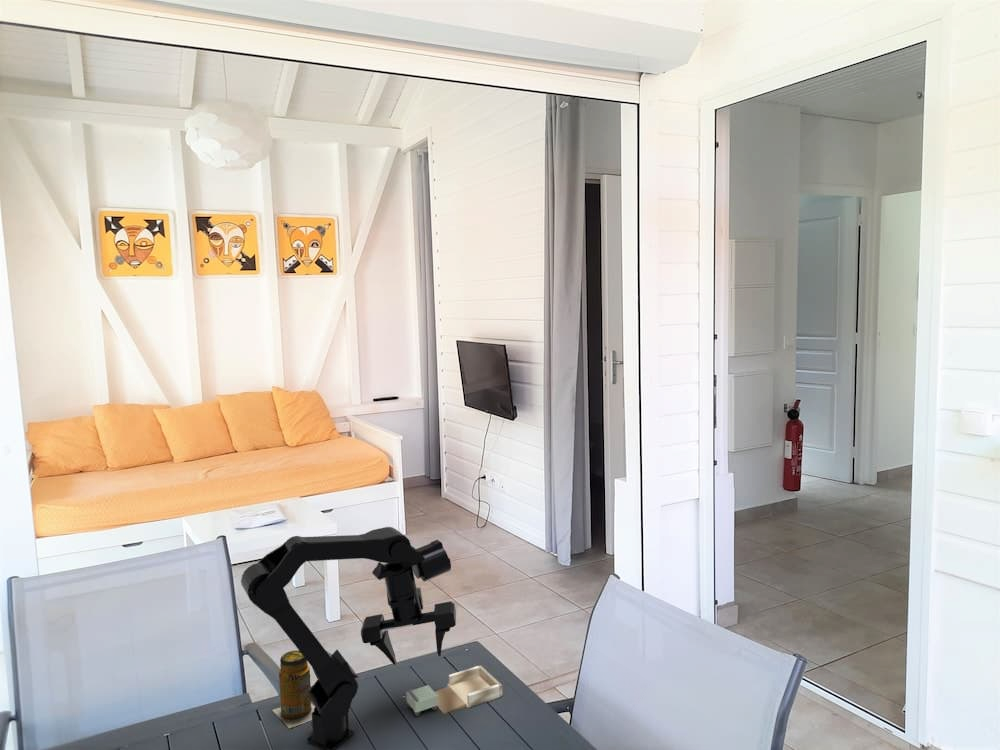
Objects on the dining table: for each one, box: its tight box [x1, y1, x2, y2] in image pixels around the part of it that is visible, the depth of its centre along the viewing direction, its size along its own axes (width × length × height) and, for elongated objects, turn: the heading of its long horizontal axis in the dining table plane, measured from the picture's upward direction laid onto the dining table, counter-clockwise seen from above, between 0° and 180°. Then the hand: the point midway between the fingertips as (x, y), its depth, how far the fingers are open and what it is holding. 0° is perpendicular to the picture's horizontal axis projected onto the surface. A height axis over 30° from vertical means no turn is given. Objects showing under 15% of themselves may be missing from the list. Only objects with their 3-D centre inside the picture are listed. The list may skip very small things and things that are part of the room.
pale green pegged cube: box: [405, 684, 438, 717], centre depth 148 cm, size 5×5×4 cm
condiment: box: [272, 649, 315, 729], centre depth 147 cm, size 7×8×12 cm
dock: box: [434, 664, 503, 714], centre depth 153 cm, size 13×10×3 cm
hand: (417, 659), depth 147 cm, fingers open, 9 cm apart
